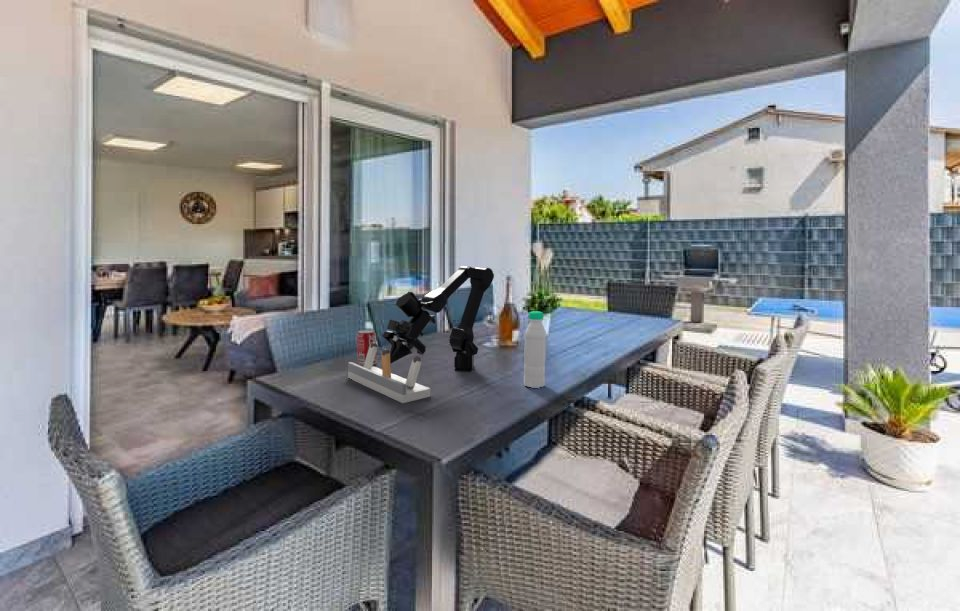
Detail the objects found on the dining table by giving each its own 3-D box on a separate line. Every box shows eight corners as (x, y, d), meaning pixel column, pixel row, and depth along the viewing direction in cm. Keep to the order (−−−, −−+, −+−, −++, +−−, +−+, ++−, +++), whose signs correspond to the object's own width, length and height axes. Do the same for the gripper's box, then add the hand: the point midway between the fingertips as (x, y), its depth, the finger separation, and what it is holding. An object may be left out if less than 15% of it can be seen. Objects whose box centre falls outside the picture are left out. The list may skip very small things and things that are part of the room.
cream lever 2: (409, 387, 152) (418, 356, 153) (415, 390, 150) (424, 358, 151) (402, 386, 150) (412, 354, 152) (408, 388, 148) (418, 356, 149)
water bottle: (531, 390, 158) (533, 314, 155) (519, 384, 165) (521, 310, 161) (548, 387, 162) (551, 312, 158) (536, 381, 168) (539, 309, 164)
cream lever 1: (367, 370, 171) (375, 342, 172) (371, 372, 169) (380, 343, 170) (361, 369, 170) (369, 340, 171) (365, 371, 167) (374, 342, 168)
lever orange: (387, 377, 162) (385, 347, 160) (392, 379, 159) (391, 349, 158) (381, 378, 160) (379, 348, 158) (386, 380, 158) (384, 350, 156)
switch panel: (374, 373, 176) (373, 358, 175) (430, 396, 151) (430, 379, 150) (348, 378, 169) (347, 362, 169) (402, 403, 144) (402, 385, 144)
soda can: (371, 367, 184) (371, 333, 182) (354, 366, 185) (353, 332, 183) (379, 362, 191) (379, 329, 189) (362, 361, 192) (361, 328, 190)
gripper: (386, 307, 168) (358, 343, 162) (418, 314, 154) (388, 353, 148) (406, 327, 174) (379, 362, 168) (438, 335, 160) (410, 374, 154)
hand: (388, 362), depth 160 cm, fingers closed, pressing on lever orange
